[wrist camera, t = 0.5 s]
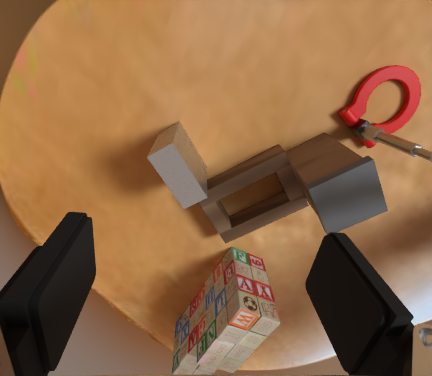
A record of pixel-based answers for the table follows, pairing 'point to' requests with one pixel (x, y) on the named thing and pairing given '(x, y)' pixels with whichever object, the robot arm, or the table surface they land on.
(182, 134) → the tall grey box
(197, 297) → the stack of blocks
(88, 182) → the table surface
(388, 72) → the tow hook
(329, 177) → the post socket
